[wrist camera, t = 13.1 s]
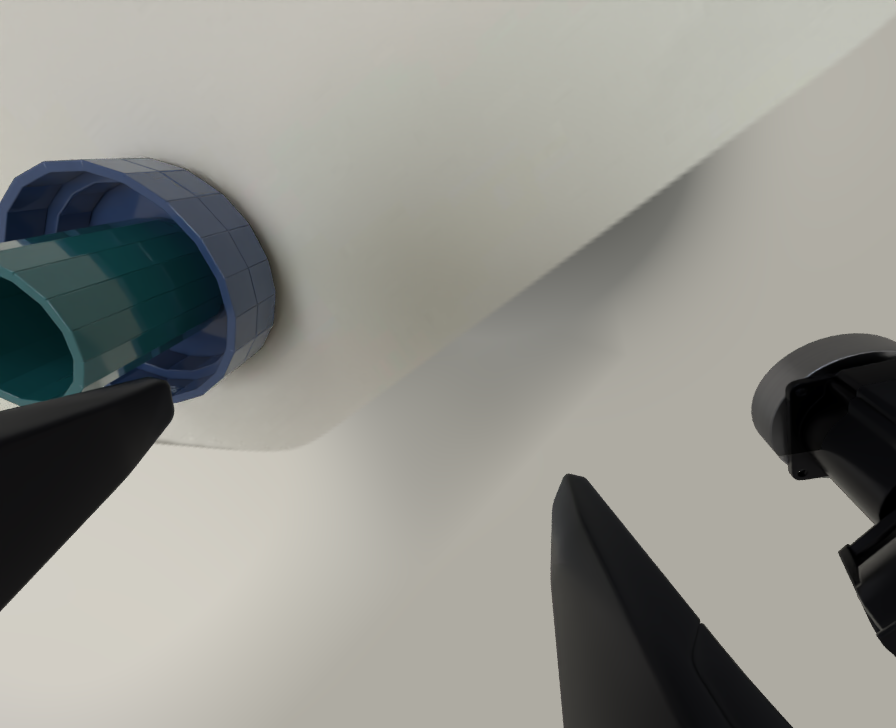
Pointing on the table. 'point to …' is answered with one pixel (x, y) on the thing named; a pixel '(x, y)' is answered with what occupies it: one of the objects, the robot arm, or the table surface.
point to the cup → (97, 304)
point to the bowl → (196, 212)
